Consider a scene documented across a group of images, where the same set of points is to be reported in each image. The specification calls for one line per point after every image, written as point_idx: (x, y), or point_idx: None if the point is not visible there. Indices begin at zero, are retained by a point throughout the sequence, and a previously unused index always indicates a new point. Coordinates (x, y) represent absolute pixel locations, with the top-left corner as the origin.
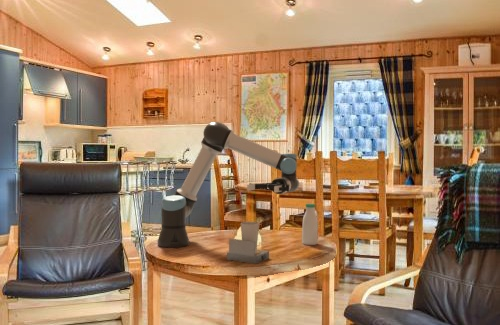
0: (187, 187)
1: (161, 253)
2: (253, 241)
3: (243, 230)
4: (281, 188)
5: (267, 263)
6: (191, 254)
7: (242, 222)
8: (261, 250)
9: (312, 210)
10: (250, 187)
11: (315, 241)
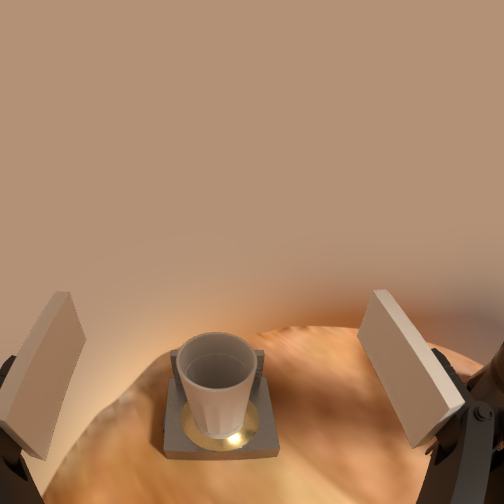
0: None
1: None
2: (175, 351)
3: (226, 351)
4: (10, 367)
5: (146, 404)
6: (376, 381)
7: (254, 358)
8: (192, 450)
9: None
10: (382, 344)
11: None
